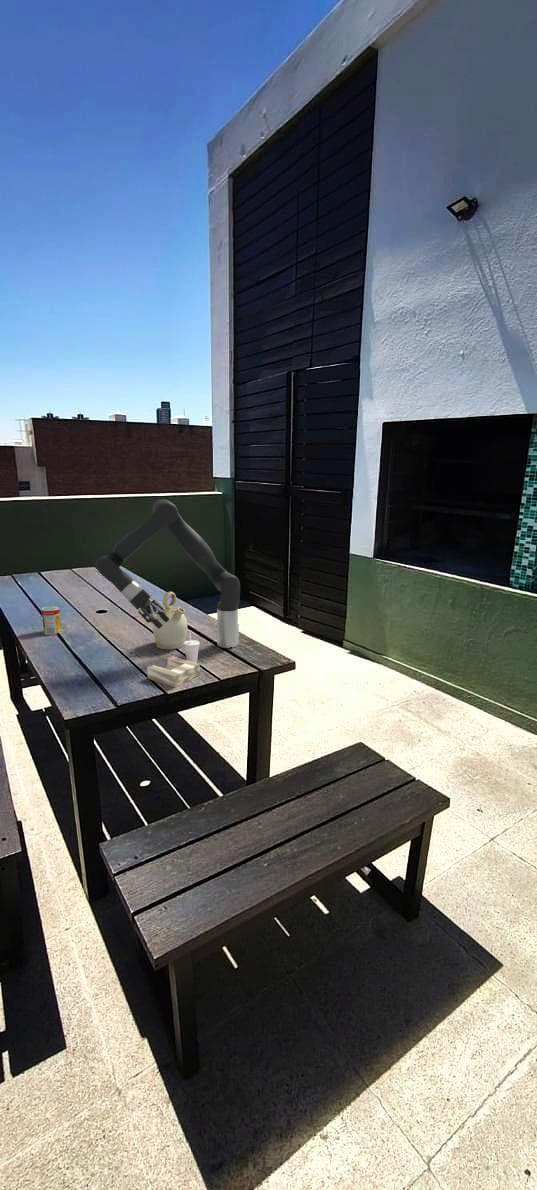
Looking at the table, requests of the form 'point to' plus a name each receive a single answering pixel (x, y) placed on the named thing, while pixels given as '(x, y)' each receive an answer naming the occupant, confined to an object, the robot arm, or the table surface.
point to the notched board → (174, 672)
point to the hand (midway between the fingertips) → (164, 623)
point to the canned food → (51, 620)
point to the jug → (171, 625)
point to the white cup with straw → (191, 649)
